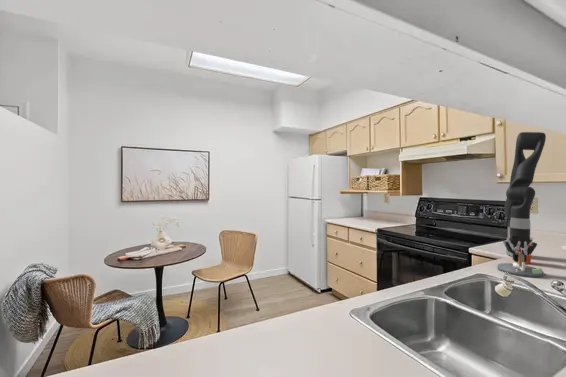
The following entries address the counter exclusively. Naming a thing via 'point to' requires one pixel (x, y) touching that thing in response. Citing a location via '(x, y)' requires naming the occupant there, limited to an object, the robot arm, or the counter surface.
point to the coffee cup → (527, 254)
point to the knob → (520, 262)
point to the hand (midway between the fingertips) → (519, 261)
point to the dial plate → (527, 273)
